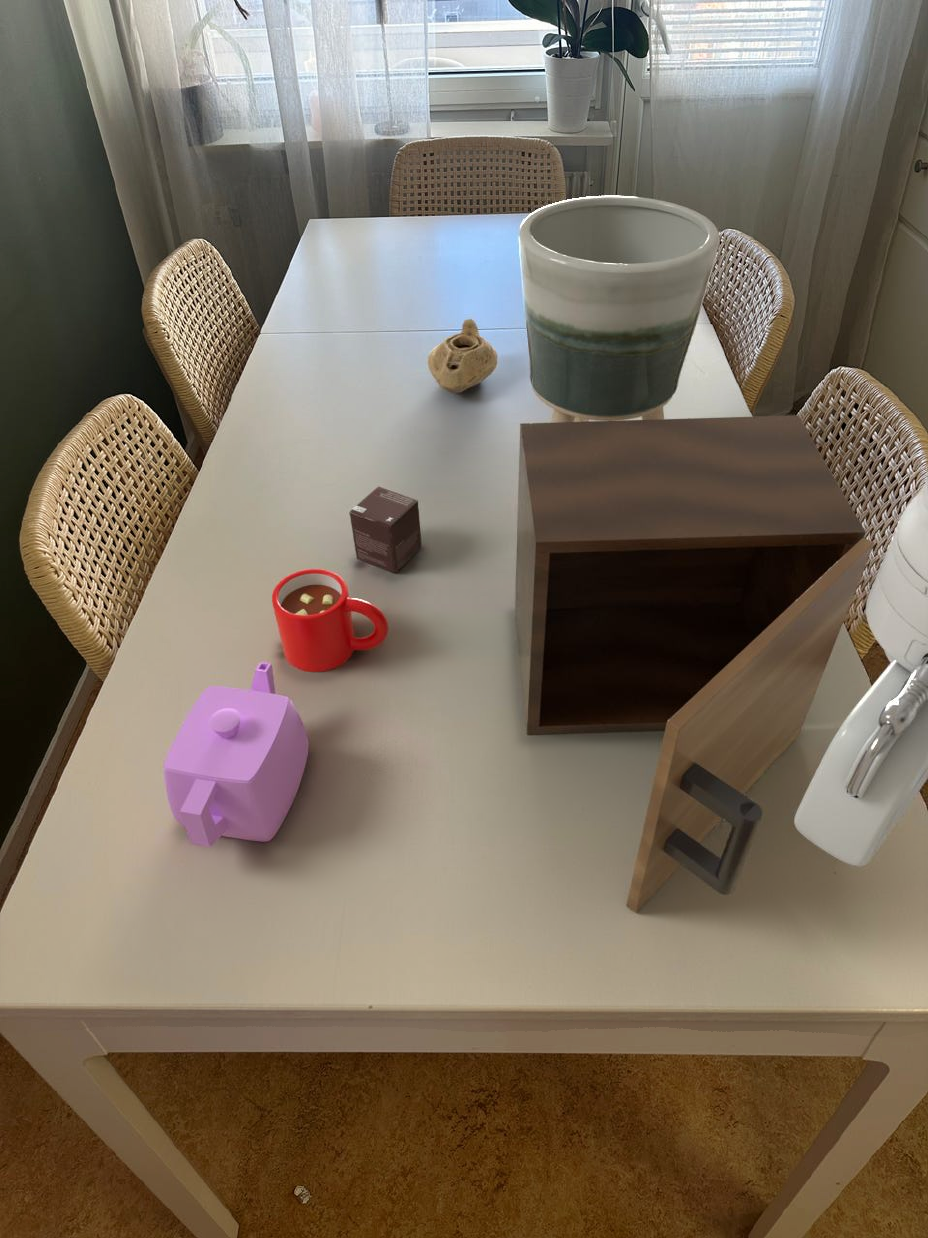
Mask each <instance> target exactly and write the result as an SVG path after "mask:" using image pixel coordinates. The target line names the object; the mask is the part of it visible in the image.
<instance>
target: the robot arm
mask: <svg viewBox="0 0 928 1238" xmlns="http://www.w3.org/2000/svg"><path fill="white" fill-rule="evenodd" d="M865 613H866V614H865V616H866V621H867V624H868V628H869V630H870V632H871V634H872V636H873V638H875V640H876V642H877V643H878V644H879V646H880V647H881V648H882V649H883V651H884V653H885V656H886V658H887V659H888V661H889V664H888V665H887V667H886V668H885V669H884V670H883V671H882V673H881V674H880V675H879V677H877V679H876V680H875V681H874V682H873V684H872V685H871V686H870V687H869V689H868V690H867V692H865V694H864V695H863V697H862V698H861V699H860V700H859V701H858V702H857V704H856V705H855V706H854V708H852V710H851V711H850V713H848V715H847V716H846V718H845V719H844V721H843V723H842V724H841V725H840V727H839V729H837V732H836V734H835V735H834V737H833V738H832V740H831V742H830V744H829V745H828V747H827V749H826V751H825V753H824V755H823V757H822V758H821V760H820V763H819V765H818V767H817V769H816V771H815V772H814V775H813V776H812V778H811V781H810V783H809V785H808V787H807V789H806V791H805V793H804V795H803V796H802V799H801V801H800V803H799V806H798V807H797V810H796V812H795V815H794V819H793V820H794V821H793V823H794V826H795V828H796V830H797V832H799V833H800V834H801V835H802V837H804V838H805V839H807V840H808V841H809V842H811V843H812V844H814V845H815V846H816V847H818V848H819V849H821V850H822V851H824V852H825V853H827V854H828V855H830V856H832V857H834V858H835V859H837V860H839V861H840V862H843V863H845V864H847V865H849V866H853V867H856V868H858V867H859V868H860V867H864V866H866V865H867V864H869V863H870V862H871V861H872V860H873V859H874V857H875V856H876V854H877V853H878V852H879V850H880V849H881V847H882V846H883V844H884V843H885V841H886V840H887V839H888V838H889V835H890V834H891V833H892V831H893V830H894V829H895V827H896V826H897V824H898V823H899V821H900V819H901V818H902V817H903V816H904V814H905V812H906V811H907V809H908V808H909V807H910V805H911V804H912V802H913V801H914V799H915V797H916V796H917V795H918V793H919V792H920V790H921V789H922V787H923V786H924V785H925V783H926V782H927V780H928V477H927V478H926V480H925V483H924V485H923V486H922V488H921V490H920V491H919V492H918V493H917V494H916V495H915V496H914V497H913V498H912V499H911V501H910V502H909V503H908V505H907V506H906V507H905V508H904V511H903V512H902V513H901V516H900V518H899V520H898V522H897V525H896V527H895V530H894V532H893V535H892V537H891V540H890V542H889V545H888V548H887V549H886V553H885V555H884V557H883V560H882V562H881V564H880V567H879V569H878V572H877V573H876V576H875V579H874V581H873V584H872V586H871V589H870V591H869V594H868V596H867V598H866V603H865Z"/></svg>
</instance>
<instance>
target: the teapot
mask: <svg viewBox="0 0 928 1238" xmlns="http://www.w3.org/2000/svg"><path fill="white" fill-rule="evenodd" d="M306 730H307V729H306V727H305V725H304V722H303V720H302V718H301V715H300V714H299V712H298V710H297V708H296V707H295V705H294V703H293V702H292V700H291V699H290V697H288V696H286V695H281V694H277V693H276V687H275V679H274V671H273V664H272V662H266V661H259V663H258V664H257V666H256V668H255V669H254V675H253V679H252V683H251V686H250V689H244V688H236V687H231V686H230V687H229V686H222V685H221V686H220V685H209V686H207V687H206V688H205V689H204V691H203V692H202V693H201V694H200V696H199V697H198V699H197V700H196V701H195V703H194V704H193V706H192V708H191V709H190V711H189V712H188V714H187V716H186V717H185V719H183V722H182V724H181V726H180V727H179V730H178V731H177V734H176V735H175V737H174V740H173V742H172V744H171V746H170V748H169V750H168V753H167V755H166V757H165V760H164V764H163V776H164V784H165V785H164V786H165V792H166V797H167V801H168V805H169V807H170V808H169V809H170V811H171V814H172V816H173V818H174V819H175V821H176V822H177V823H178V824H179V825H180V826H182V827H183V828H185V831H186V834H187V837H188V840H189V843H190V845H195V846H200V847H206V848H211V847H212V846H213V845H214V844H215V843H216V842H217V841H218V840H219V839H220V838H221V837H225V838H231V839H238V840H245V841H252V842H253V841H254V842H262V843H263V842H265V843H266V842H269V841H271V840H272V839H273V838H274V837H275V836H276V834H277V833H278V831H279V830H280V828H281V826H282V825H283V823H284V821H285V819H286V817H287V815H288V813H289V811H290V809H291V807H292V805H293V803H294V801H295V798H296V796H297V793H298V791H299V788H300V784H301V782H302V778H303V775H304V773H305V768H306V765H307V761H308V756H309V749H310V747H309V745H310V742H309V737H308V733H307V731H306Z"/></svg>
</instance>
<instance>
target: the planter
mask: <svg viewBox="0 0 928 1238" xmlns="http://www.w3.org/2000/svg"><path fill="white" fill-rule="evenodd" d="M517 236H518V253H519V265H520V277H521V290H522V291H521V292H522V302H523V314H524V325H525V332H526V343H527V353H528V363H529V364H528V365H529V380H530V385H531V387H532V390H533V392H534V395H535V396H536V397H537V398H538V399H539V400H540V401H541V402H542V403H543V404H545V405H546V406H547V407H549V408H551V409H553V411H552V415H551V420H550V423H555V422H589V420H591V421H622V420H634V419H637V418H641V420H656V419H665V413H664V407H665V406H666V405H667V404H668V403H669V402H670V401H671V399H672V398H673V396H674V395H675V394H676V391H677V389H678V388H679V385H680V379H681V376H682V371H683V368H684V366H685V365H684V364H685V361H686V359H687V355H688V353H689V348H690V346H691V342H692V339H693V336H694V333H695V330H696V326H697V324H698V320H699V317H700V313H701V309H702V306H703V303H704V300H705V297H706V293H707V289H708V285H709V282H710V278H711V277H712V272H713V269H714V265H715V261H716V258H717V253H718V249H719V245H720V240H721V237H720V233H719V229H718V228H717V227H716V225H715V224H714V222H712V221H711V220H710V219H709V218H708V217H707V216H705V215H703V214H702V213H699V212H698V211H695V210H694V209H691V208H689V207H686V206H683V205H680V204H677V203H673V202H669V201H665V200H660V199H653V198H649V197H640V196H639V197H638V196H626V195H625V196H624V195H601V196H600V195H599V196H586V197H579V198H572V199H567V200H562V201H559V202H555V203H552V204H548V205H546V206H543V207H541V208H538V209H536V210H535V211H533V212H532V213H530V214H529V215H528V216H527V217H526V218H524V219H523V220H522V222H521V224H520V226H519V228H518V235H517Z"/></svg>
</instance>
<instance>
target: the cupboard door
mask: <svg viewBox="0 0 928 1238" xmlns="http://www.w3.org/2000/svg"><path fill="white" fill-rule="evenodd" d="M874 545H875V542H874V541H872V540H869V539H868V538H865V537H864V538H862V539H861V540H860V541H859V542H858V543H857V544H855V545H854V546H853V547H852V548H851V549H850V550H849V551H848V552H847V553H846V554H845V555H844V556H843V557H842V558H841V559H840V560H838V561H837V562H836V563H835V564H834V565H833V566H832V567H831V568H830V569H829V570H828V571H827V572H826V573H825V574H824V575H822V576H821V577H820V578H819V579H818V580H817V581H816V582H815V583H814V584H813V585H812V586H811V587H810V588H809V589H808V590H806V591H805V592H804V593H803V594H802V595H801V596H800V597H799V598H798V599H797V600H796V601H795V602H794V603H793V604H792V605H790V606H789V607H788V608H787V609H786V610H785V611H784V612H783V613H782V614H781V615H780V616H779V617H778V618H777V619H776V620H775V621H773V622H772V623H771V624H770V625H769V626H768V627H767V628H766V629H765V630H764V631H763V632H762V633H761V634H760V635H759V636H757V637H756V638H755V639H754V640H753V641H752V642H751V643H750V644H749V645H748V646H747V647H746V648H745V649H744V650H743V651H741V652H740V653H739V654H738V655H737V656H736V657H735V658H734V659H733V660H732V661H731V662H730V663H729V664H728V665H727V666H725V667H724V668H723V669H722V670H721V671H720V672H719V673H718V674H717V675H716V676H715V677H714V678H713V679H712V680H711V681H709V682H708V683H707V684H706V685H705V686H704V687H703V688H702V689H701V690H700V691H699V692H698V693H697V694H696V695H695V696H694V697H692V698H691V699H690V700H689V701H688V702H687V703H686V704H685V705H684V706H683V707H682V708H681V709H680V710H679V711H678V712H676V713H675V714H674V715H673V716H672V717H671V718H670V719H669V720H668V721H667V724H666V729H665V730H664V733H663V738H662V742H661V747H660V748H661V749H660V752H659V755H658V760H657V765H656V769H655V774H654V780H653V784H652V788H651V792H650V796H649V801H648V806H647V809H646V815H645V820H644V824H643V829H642V833H641V837H640V842H639V846H638V851H637V855H636V860H635V864H634V869H633V874H632V878H631V883H630V888H629V892H628V896H627V901H626V908H629V909H630V910H631V911H632V912H633V913H637V912H638V911H639V910H640V909H641V908H642V907H643V906H644V905H645V904H646V902H647V901H648V900H649V899H650V898H651V897H652V896H653V895H654V894H655V893H656V892H657V891H658V890H659V889H660V887H662V885H663V884H664V883H665V882H666V881H667V879H669V878H670V876H671V875H672V874H673V873H674V872H675V871H676V870H677V869H678V868H679V867H680V866H682V867H684V868H685V869H686V870H688V871H689V872H690V873H692V874H693V875H694V876H695V877H697V878H699V879H700V880H701V881H702V882H703V883H705V884H706V885H708V886H709V887H710V888H712V889H713V890H714V891H716V893H718V894H720V895H722V896H723V895H724V896H726V895H731V894H732V893H733V892H734V891H735V888H736V886H737V883H738V880H739V878H740V874H741V873H742V871H743V870H742V869H743V867H744V864H745V862H746V859H747V857H748V854H749V852H750V849H751V846H752V844H753V841H754V839H755V836H756V833H757V831H758V828H759V826H760V823H761V820H762V818H763V815H764V813H763V809H762V807H761V806H760V805H759V804H758V803H756V802H755V801H753V800H752V799H751V798H749V797H747V796H746V795H745V794H747V792H748V791H749V790H750V789H751V788H752V787H753V786H754V785H755V784H756V782H757V781H759V779H760V778H761V777H762V776H763V775H764V774H765V773H766V772H767V771H768V769H770V767H771V766H772V765H773V764H774V763H775V762H776V761H777V760H778V758H779V757H780V756H781V755H782V754H783V753H784V752H785V751H786V750H787V748H789V746H790V745H791V744H792V743H793V742H794V741H795V740H796V739H797V738H798V737H799V736H800V734H801V731H802V729H803V726H804V724H805V721H806V718H807V716H808V713H809V710H810V709H811V706H812V703H813V701H814V698H815V695H816V692H817V691H818V688H819V685H820V683H821V680H822V678H823V675H824V674H825V673H824V672H825V670H826V668H827V665H828V663H829V660H830V657H831V654H832V652H833V649H834V647H835V644H836V643H837V639H838V637H839V635H840V632H841V629H842V627H843V624H844V622H845V619H846V617H847V614H848V611H849V609H850V606H851V603H852V601H853V598H854V596H855V593H856V591H857V588H858V586H859V583H860V581H861V578H862V576H863V573H864V571H865V568H866V565H867V563H868V560H869V558H870V555H871V553H872V550H873V547H874ZM722 819H723V820H724V821H725V822H727V823H728V824H730V825H731V829H730V831H729V834H728V837H727V839H726V843H725V845H724V848H723V851H722V854H721V857H719V856H717V855H716V854H714V852H712V851H711V850H709V849H708V848H706V846H703V845H702V844H701V843H702V842H703V841H704V839H706V837H707V836H708V835H709V834H710V833H711V832H712V831H713V829H715V827H716V826H717V825H718V824H719V823H720V822H721V821H722Z"/></svg>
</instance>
